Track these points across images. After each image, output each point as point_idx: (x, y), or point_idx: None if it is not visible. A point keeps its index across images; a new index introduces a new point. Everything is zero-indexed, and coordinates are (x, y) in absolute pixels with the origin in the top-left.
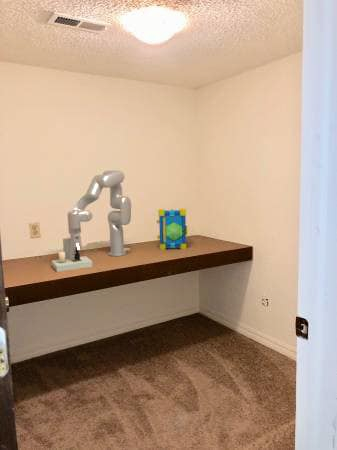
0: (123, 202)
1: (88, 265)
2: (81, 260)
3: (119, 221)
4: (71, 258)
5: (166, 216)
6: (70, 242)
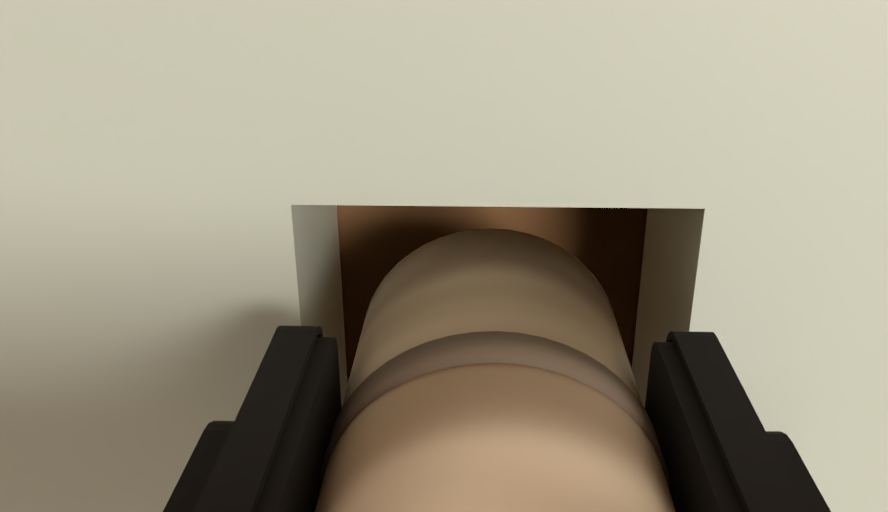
0: None
1: None
2: (625, 205)
3: None
4: (66, 469)
5: None
6: None
